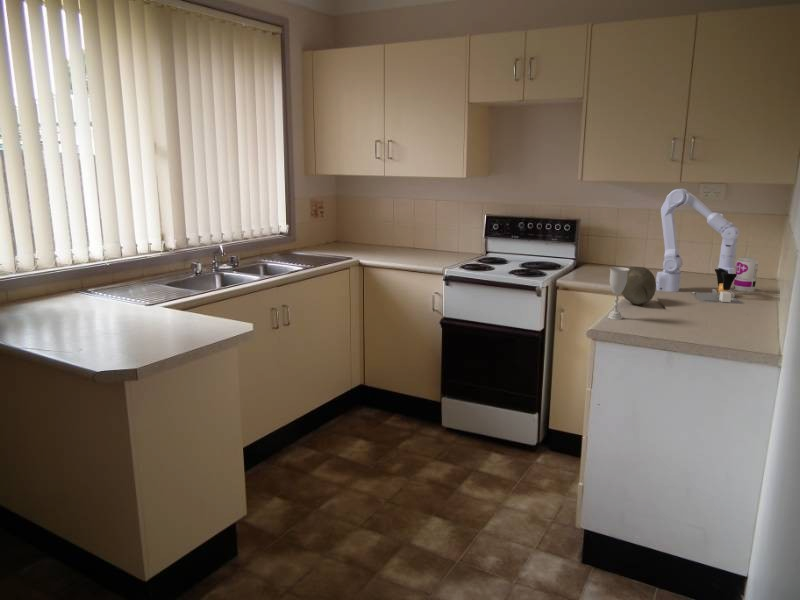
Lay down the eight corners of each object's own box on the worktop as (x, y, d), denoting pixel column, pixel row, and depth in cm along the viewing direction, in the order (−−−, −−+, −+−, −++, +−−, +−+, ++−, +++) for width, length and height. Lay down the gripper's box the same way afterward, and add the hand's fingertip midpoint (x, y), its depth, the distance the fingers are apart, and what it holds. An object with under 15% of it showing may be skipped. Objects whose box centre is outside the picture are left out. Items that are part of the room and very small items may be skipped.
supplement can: (743, 294, 270) (747, 259, 267) (728, 290, 278) (732, 256, 275) (758, 293, 273) (763, 259, 269) (743, 289, 280) (748, 256, 277)
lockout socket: (716, 297, 260) (716, 292, 259) (711, 293, 266) (712, 289, 266) (734, 298, 258) (734, 293, 258) (728, 294, 265) (729, 290, 264)
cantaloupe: (656, 302, 253) (660, 265, 250) (650, 309, 241) (654, 271, 238) (620, 298, 260) (623, 262, 257) (612, 305, 248) (616, 267, 245)
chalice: (609, 314, 233) (613, 266, 229) (627, 317, 229) (632, 268, 225) (601, 318, 228) (605, 269, 224) (620, 321, 224) (625, 271, 220)
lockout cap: (719, 296, 261) (720, 284, 260) (716, 294, 264) (718, 283, 263) (728, 297, 260) (730, 285, 259) (725, 295, 264) (727, 283, 263)
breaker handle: (722, 301, 250) (723, 293, 250) (719, 299, 254) (720, 291, 254) (730, 302, 250) (731, 293, 249) (727, 300, 254) (728, 291, 253)
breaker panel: (700, 304, 251) (700, 300, 251) (689, 294, 269) (689, 291, 268) (743, 306, 248) (744, 302, 248) (729, 296, 266) (730, 293, 265)
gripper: (744, 258, 251) (739, 291, 254) (732, 253, 265) (728, 285, 268) (725, 257, 252) (720, 291, 255) (714, 252, 266) (710, 284, 269)
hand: (723, 287), depth 261 cm, fingers open, 7 cm apart
